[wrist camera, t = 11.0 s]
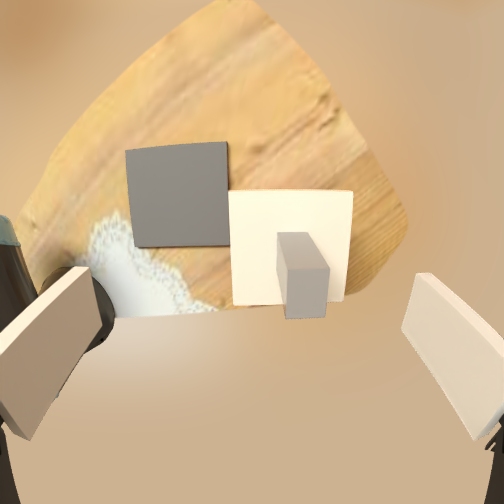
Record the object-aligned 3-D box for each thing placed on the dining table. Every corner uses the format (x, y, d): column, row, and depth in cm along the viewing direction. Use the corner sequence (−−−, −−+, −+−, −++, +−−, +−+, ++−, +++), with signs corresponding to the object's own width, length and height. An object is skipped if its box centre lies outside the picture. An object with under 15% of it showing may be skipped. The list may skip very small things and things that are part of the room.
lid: (233, 300, 32) (228, 360, 23) (229, 190, 28) (217, 213, 19) (340, 297, 32) (369, 352, 23) (350, 190, 28) (394, 212, 19)
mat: (136, 245, 41) (134, 247, 41) (127, 150, 37) (125, 150, 36) (230, 243, 41) (229, 245, 41) (226, 141, 37) (226, 141, 36)
